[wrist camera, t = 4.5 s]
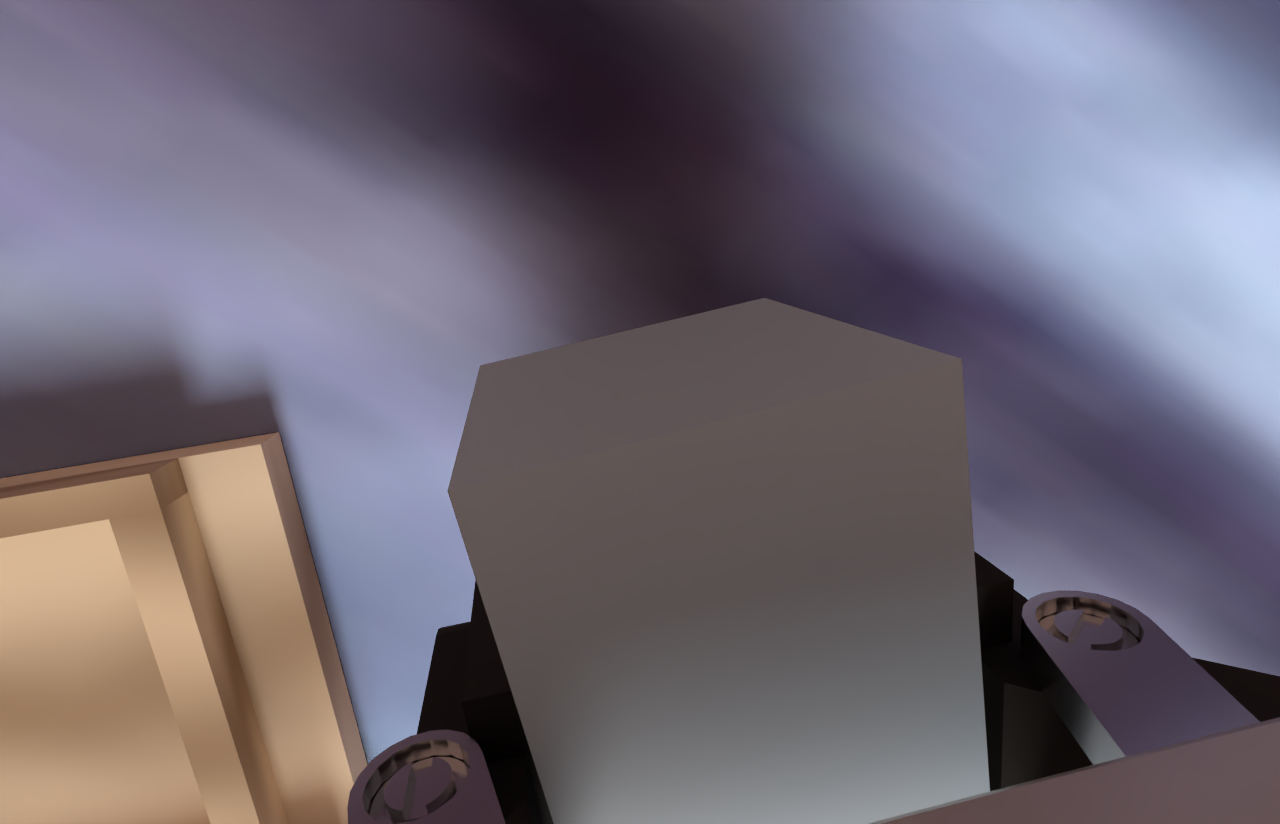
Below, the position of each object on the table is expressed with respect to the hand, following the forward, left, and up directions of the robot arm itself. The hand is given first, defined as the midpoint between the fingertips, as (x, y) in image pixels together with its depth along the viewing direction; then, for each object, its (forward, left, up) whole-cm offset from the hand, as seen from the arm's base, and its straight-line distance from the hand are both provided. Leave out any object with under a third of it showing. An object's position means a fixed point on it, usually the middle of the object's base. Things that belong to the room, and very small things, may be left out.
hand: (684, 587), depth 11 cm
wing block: (0, 0, -1) cm, 1 cm away
